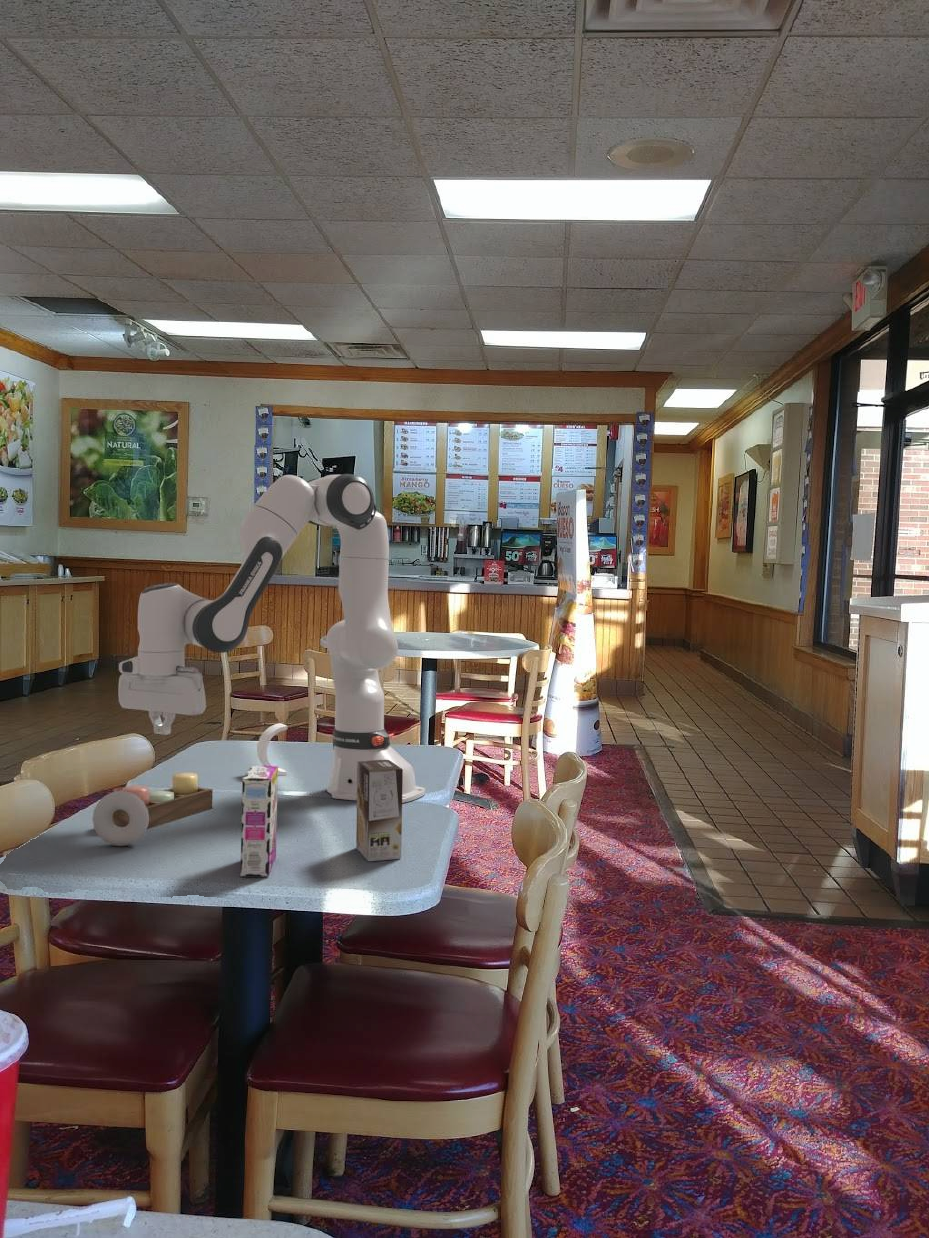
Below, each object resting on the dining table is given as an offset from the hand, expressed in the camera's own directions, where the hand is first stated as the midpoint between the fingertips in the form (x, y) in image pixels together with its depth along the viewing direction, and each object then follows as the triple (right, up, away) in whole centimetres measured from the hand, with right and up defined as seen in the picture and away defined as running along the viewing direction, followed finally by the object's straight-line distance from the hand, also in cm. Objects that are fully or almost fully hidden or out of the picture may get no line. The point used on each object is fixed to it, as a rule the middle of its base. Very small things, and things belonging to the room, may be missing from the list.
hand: (162, 733), depth 192 cm
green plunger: (-1, -16, +1) cm, 16 cm away
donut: (-2, -18, -19) cm, 26 cm away
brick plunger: (-4, -14, -5) cm, 15 cm away
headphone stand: (+14, -15, +42) cm, 47 cm away
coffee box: (+45, -19, -20) cm, 53 cm away
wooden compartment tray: (-1, -17, +1) cm, 17 cm away
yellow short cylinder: (+3, -13, +7) cm, 15 cm away
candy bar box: (+26, -19, -29) cm, 43 cm away
